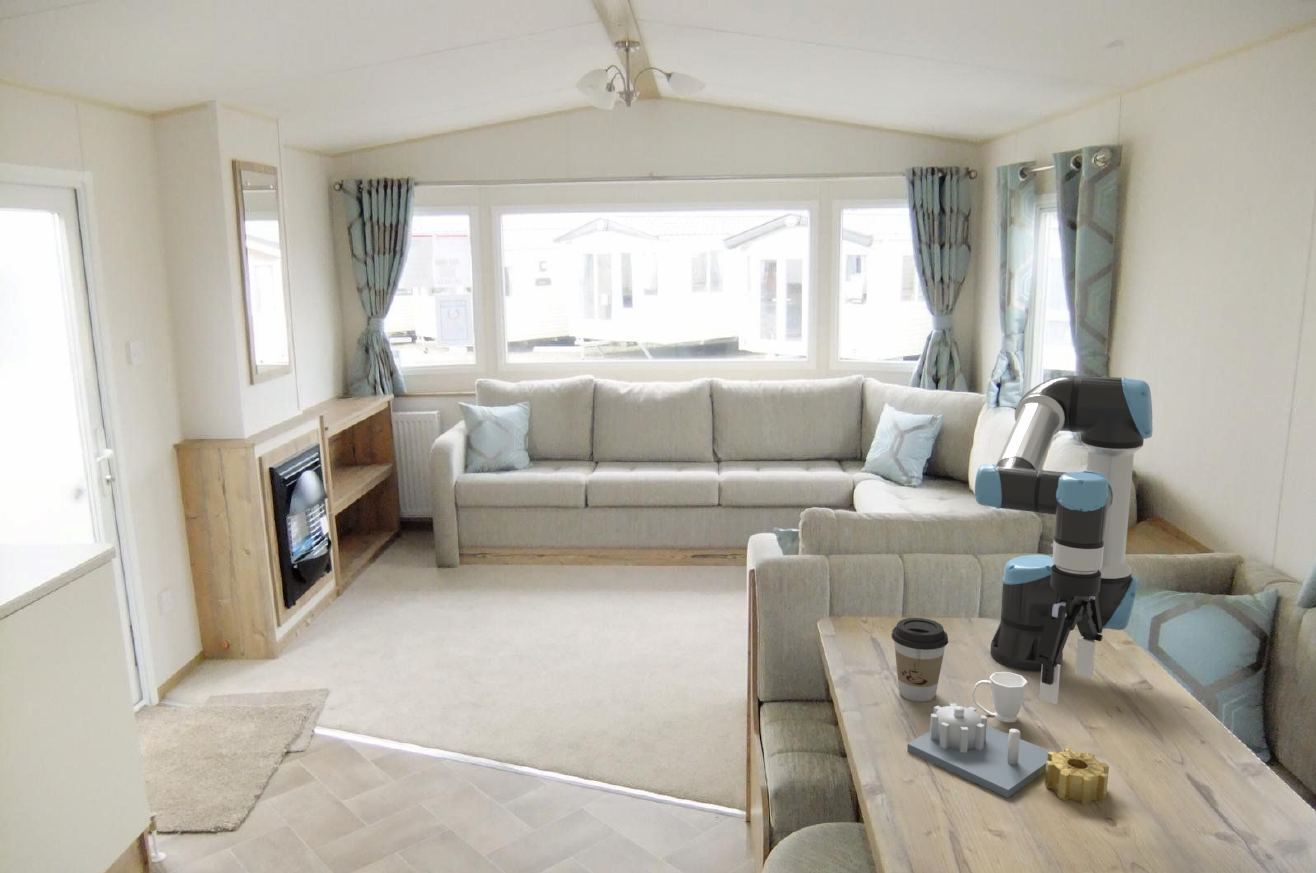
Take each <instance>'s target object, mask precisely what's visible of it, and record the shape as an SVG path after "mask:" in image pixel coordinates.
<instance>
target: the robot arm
mask: <svg viewBox="0 0 1316 873" xmlns="http://www.w3.org/2000/svg"><path fill="white" fill-rule="evenodd" d="M1151 392H1152V391H1151V387H1150V385H1149V384H1148V382H1146V381H1144V380H1143V379H1134V378H1133V379H1132V378H1126V377H1116V376H1115V377H1111V376H1110V377H1109V376H1108V377H1107V376H1084V375H1083V376H1079V375H1078V376H1077V375H1062V376H1056V377H1053V378H1051V379H1048V380H1045V381H1043V382H1041V383H1039V384H1036V385H1035V386H1034V387H1033V388H1031V389H1030V390H1029V391H1027V392H1025V394H1024V395H1023V396H1022V397H1021V399H1020V400H1019V401H1018V403H1017V406H1016V408H1015V411H1014V425H1013V427H1012V430H1010V433H1009V436H1008V438H1007V440H1006V442H1005V444H1004V447H1003V449H1002V451H1001V453H1000V455H999V458H998V460H997V463H996V464H995V463H993V464H983V465H980V466H979V467H978V469H977V471H976V476H975V482H974V498H975V501H976V502H977V504H978V505H981V506H985V507H991V508H995V509H996V510H997V509H1005V510H1014V511H1021V512H1029V513H1031V512H1032V513H1039V514H1046V515H1055V518H1054V519H1055V521H1054V524H1055V525H1054V535H1053V542H1051V543H1050V547H1051V549H1052V556H1051V555H1047V554H1046V555H1044V554H1029V555H1026V554H1025V555H1020V556H1017V557H1014V558H1012V559H1010V560H1008V561H1007V562H1006V564H1005V565H1004V569H1003V577H1002V580H1001V582H1002V592H1001V593H1002V594H1001V596H1002V597H1001V611H1000V622H999V624H998V626H997V629H996V631H995V633H994V635H993V638H992V640H991V643H990V656H991V657H992V659H993V660H995V661H996V662H997V663H999V664H1001V665H1003V666H1005V667H1008V668H1012V669H1015V670H1019V671H1024V672H1034V673H1038V672H1039V673H1040V680H1039V681H1040V684H1039V697H1038V698H1039V699H1040V700H1042V701H1044V702H1049V703H1052V704H1055V705H1057V703H1058V700H1059V686H1060V674H1061V666H1062V664H1063V656H1064V653H1063V651H1064V649H1065V646H1066V643H1067V641H1068V638H1069V635H1070V632H1071V631H1074V630H1075V629H1076V627H1077V629H1078V631H1079V634H1080V637H1078V638H1077V644H1076V645H1077V647H1076V659H1075V670H1074V674H1075V675H1078V676H1082V677H1085V678H1089V679H1092V678H1093V677H1094V675H1093V674H1094V668H1095V667H1094V666H1095V654H1096V653H1095V652H1096V644H1097V642H1096V641H1098V642H1101V641H1102V640H1103V635H1102V633H1103V630H1105V629H1108V630H1116V631H1122V630H1124V629H1126V628H1127V627H1128V625H1129V622H1130V618H1131V615H1132V611H1133V607H1134V602H1135V598H1136V595H1137V594H1136V593H1137V591H1138V586H1139V582H1140V581H1139V579H1138V577H1135V576H1132V567H1131V566H1130V565H1129V564H1128V563H1127V562H1126V561H1125V560H1126V551H1127V550H1126V549H1127V548H1126V547H1127V538H1128V527H1129V526H1128V525H1129V513H1130V502H1131V491H1132V477H1133V467H1134V459H1135V458H1134V457H1135V453H1136V452H1137V451H1139V450H1140V449H1141V448H1142V447H1144V440H1146V439H1149V438H1150V439H1151V437H1152V436H1153V404H1152V402H1153V401H1152V393H1151ZM1059 432H1072V433H1080V443H1081V444H1082V445H1083V446H1084V447H1085V448H1086V449H1087V457H1086V458H1087V459H1086V470H1082V471H1071V472H1063V471H1053V470H1045V469H1042V467H1043V465H1044V462H1045V459H1046V457H1047V455H1048V451H1049V450H1050V447H1051V445H1052V444H1051V443H1052V442H1053V438H1054V436H1055V435H1057V434H1058V433H1059Z"/></svg>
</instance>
